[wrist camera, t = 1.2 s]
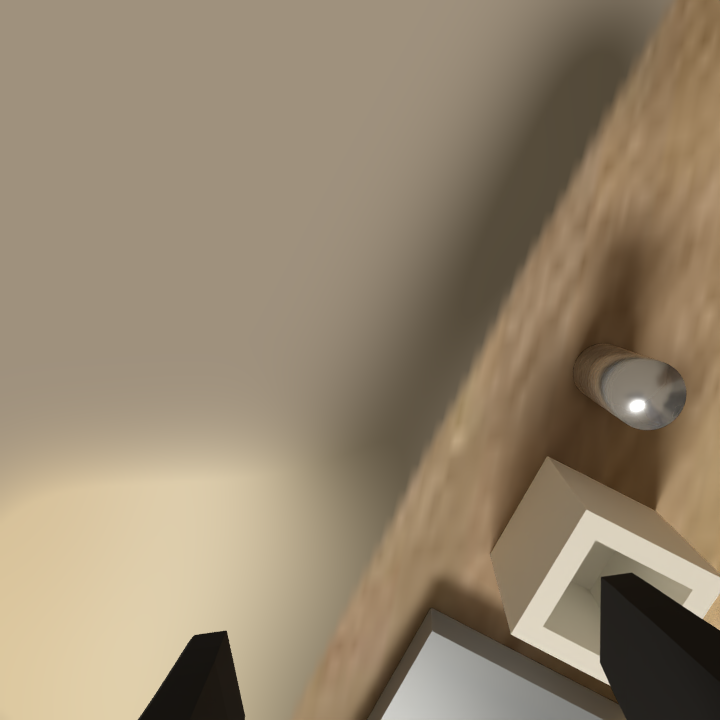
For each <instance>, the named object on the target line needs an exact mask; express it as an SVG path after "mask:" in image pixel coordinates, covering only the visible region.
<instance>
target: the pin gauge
mask: <svg viewBox="0 0 720 720" xmlns="http://www.w3.org/2000/svg"><path fill="white" fill-rule="evenodd" d="M573 377H574V381H575V384H576V386H577V387H578V389H579V390H580V391H581V392H582V393H583V394H584V395H586V396H587V397H589V398H590V399H592V400H593V401H594V402H596V403H597V404H599V405H600V406H602V407H603V408H605V409H606V410H607V411H609V412H610V413H612V414H613V415H615V416H616V417H617V418H619V419H620V420H622V421H623V422H625V423H626V424H628V425H629V426H631V427H633V428H636V429H641V430H654V429H658V428H662V427H664V426H666V425H668V424H669V423H671V422H672V421H673V420H675V419H676V418H677V417H678V415H679V414H680V413H681V411H682V409H683V407H684V404H685V401H686V386H685V383H684V380H683V378H682V377H681V375H680V374H679V373H678V371H677V370H675V369H674V368H673V367H672V366H670V365H668V364H666V363H664V362H661V361H658V360H655V359H652V358H649V357H646V356H643V355H641V354H638V353H635V352H632V351H629V350H626V349H623V348H620V347H617V346H614V345H611V344H596V345H593V346H591V347H589V348H587V349H585V350H584V351H583V352H582V353H581V354H580V355H579V356H578V358H577V360H576V362H575V364H574V368H573Z"/></svg>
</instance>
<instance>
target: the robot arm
mask: <svg viewBox="0 0 720 720" xmlns="http://www.w3.org/2000/svg"><path fill="white" fill-rule="evenodd" d="M600 664H601V666H602V668H603V671H604V673H605V675H606V677H607V680H608V682H609V684H610V686H611V688H612V691H613V693H614V695H615V697H616V699H617V701H618V703H619V705H620V707H621V709H622V711H623V714H624V716H625V718H626V719H627V720H720V630H718V629H717V628H715V627H714V626H712V625H711V624H709V623H707V622H706V621H704V620H703V619H701V618H700V617H698V616H697V615H695V614H694V613H692V612H691V611H689V610H688V609H686V608H685V607H683V606H682V605H680V604H679V603H677V602H676V601H674V600H673V599H671V598H670V597H669V596H667V595H666V594H664V593H663V592H661V591H660V590H658V589H657V588H655V587H654V586H652V585H651V584H649V583H648V582H646V581H645V580H643V579H641V578H640V577H638V576H637V575H635V574H634V573H632V572H631V573H624V574H617V575H610V576H603V577H601V603H600ZM138 720H245V714H244V709H243V705H242V700H241V695H240V690H239V686H238V681H237V677H236V672H235V667H234V663H233V658H232V653H231V649H230V644H229V639H228V635H227V631H220V632H214V633H207V634H199V635H194V636H193V637H192V639H191V640H190V641H189V643H188V644H187V646H186V647H185V649H184V650H183V652H182V653H181V655H180V657H179V658H178V660H177V662H176V663H175V665H174V666H173V668H172V669H171V671H170V672H169V674H168V676H167V677H166V679H165V680H164V682H163V683H162V685H161V686H160V688H159V689H158V691H157V692H156V694H155V695H154V697H153V698H152V700H151V701H150V703H149V704H148V706H147V707H146V709H145V710H144V712H143V713H142V715H141V716H140V718H139V719H138Z"/></svg>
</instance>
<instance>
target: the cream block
mask: <svg viewBox="0 0 720 720" xmlns="http://www.w3.org/2000/svg"><path fill="white" fill-rule="evenodd" d="M490 557H491V561H492V565H493V568H494V572H495V576H496V580H497V584H498V587H499V591H500V595H501V599H502V603H503V606H504V610H505V614H506V618H507V622H508V626H509V629H510V633H511V635H513V636H515V637H517V638H519V639H521V640H523V641H524V642H526V643H528V644H530V645H532V646H534V647H536V648H538V649H540V650H542V651H544V652H546V653H548V654H550V655H552V656H554V657H555V658H557V659H559V660H561V661H563V662H565V663H567V664H569V665H571V666H573V667H575V668H577V669H579V670H581V671H583V672H585V673H587V674H588V675H590V676H592V677H594V678H596V679H598V680H600V681H602V682H604V683H606V684H608V685H610V684H609V682H608V680H607V677H606V675H605V673H604V671H603V668H602V666H601V664H600V603H601V577H603V576H610V575H617V574H624V573H631V572H632V573H634V574H635V575H637V576H638V577H640V578H641V579H643V580H645V581H646V582H648V583H649V584H651V585H652V586H654V587H655V588H657V589H658V590H660V591H661V592H663V593H664V594H666V595H667V596H669V597H670V598H671V599H673V600H674V601H676V602H677V603H679V604H680V605H682V606H683V607H685V608H686V609H688V610H689V611H691V612H692V613H694V614H695V615H697V616H698V617H700V618H701V619H703V617H704V616H705V614H706V613H707V611H708V610H709V608H710V607H711V605H712V604H713V602H714V601H715V599H716V598H717V596H718V595H719V594H720V573H719V572H718V571H717V570H716V569H715V568H713V567H712V566H711V565H710V564H709V563H708V562H707V561H706V560H705V559H704V558H703V557H702V556H701V555H700V554H699V553H698V552H697V551H696V550H695V549H694V548H693V547H692V546H691V545H690V544H689V543H688V542H687V541H686V540H685V539H684V538H683V537H682V536H681V535H680V534H679V533H678V532H677V531H676V530H675V529H674V528H673V527H672V526H671V525H669V524H668V523H667V522H666V521H665V520H664V519H663V518H662V517H661V516H660V515H659V514H658V513H657V512H656V511H655V510H653V509H651V508H649V507H647V506H645V505H643V504H641V503H639V502H637V501H635V500H633V499H631V498H629V497H627V496H625V495H623V494H621V493H619V492H617V491H616V490H614V489H612V488H610V487H608V486H606V485H604V484H602V483H600V482H598V481H596V480H594V479H592V478H590V477H588V476H586V475H584V474H582V473H580V472H578V471H576V470H574V469H572V468H570V467H568V466H566V465H564V464H562V463H560V462H558V461H556V460H554V459H552V458H550V457H548V456H547V457H546V459H545V461H544V462H543V464H542V466H541V468H540V469H539V471H538V473H537V474H536V476H535V478H534V480H533V481H532V483H531V485H530V486H529V488H528V490H527V492H526V493H525V495H524V497H523V499H522V500H521V502H520V504H519V505H518V507H517V509H516V511H515V512H514V514H513V516H512V517H511V519H510V521H509V523H508V524H507V526H506V528H505V530H504V531H503V533H502V535H501V536H500V538H499V540H498V542H497V543H496V545H495V547H494V548H493V550H492V552H491V554H490Z"/></svg>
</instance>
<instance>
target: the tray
mask: <svg viewBox="0 0 720 720" xmlns="http://www.w3.org/2000/svg"><path fill="white" fill-rule="evenodd" d="M367 720H627V719H626V718H625V716H624V714H623V711H622V709H621V707H620V705H619V704H617V703H615V702H613V701H611V700H609V699H607V698H605V697H603V696H601V695H599V694H597V693H595V692H594V691H592V690H590V689H588V688H586V687H584V686H582V685H580V684H578V683H576V682H574V681H572V680H570V679H568V678H566V677H564V676H563V675H561V674H559V673H557V672H555V671H553V670H551V669H549V668H547V667H545V666H543V665H541V664H539V663H537V662H535V661H533V660H532V659H530V658H528V657H526V656H524V655H522V654H520V653H518V652H516V651H514V650H512V649H510V648H508V647H506V646H504V645H502V644H501V643H499V642H497V641H495V640H493V639H491V638H489V637H487V636H485V635H483V634H481V633H479V632H477V631H475V630H473V629H471V628H470V627H468V626H466V625H464V624H462V623H460V622H458V621H456V620H454V619H452V618H450V617H448V616H446V615H444V614H442V613H440V612H439V611H437V610H435V609H433V608H430V610H429V612H428V614H427V616H426V617H425V619H424V621H423V623H422V624H421V626H420V628H419V630H418V631H417V633H416V635H415V637H414V638H413V640H412V642H411V644H410V645H409V647H408V649H407V651H406V652H405V654H404V656H403V658H402V659H401V661H400V663H399V665H398V666H397V668H396V670H395V672H394V673H393V675H392V677H391V679H390V680H389V682H388V684H387V686H386V687H385V689H384V691H383V693H382V694H381V696H380V698H379V700H378V701H377V703H376V705H375V707H374V708H373V710H372V712H371V714H370V715H369V717H368V719H367Z"/></svg>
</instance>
